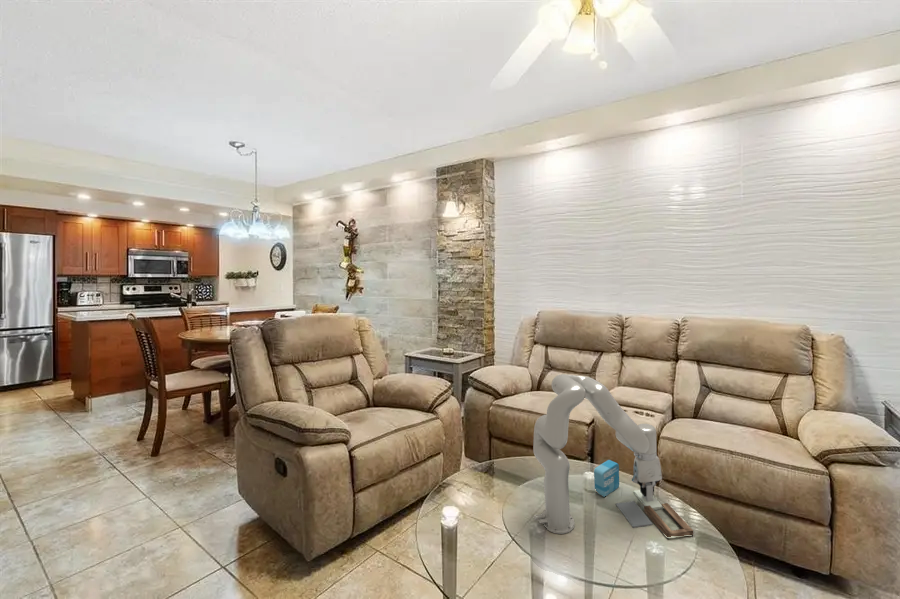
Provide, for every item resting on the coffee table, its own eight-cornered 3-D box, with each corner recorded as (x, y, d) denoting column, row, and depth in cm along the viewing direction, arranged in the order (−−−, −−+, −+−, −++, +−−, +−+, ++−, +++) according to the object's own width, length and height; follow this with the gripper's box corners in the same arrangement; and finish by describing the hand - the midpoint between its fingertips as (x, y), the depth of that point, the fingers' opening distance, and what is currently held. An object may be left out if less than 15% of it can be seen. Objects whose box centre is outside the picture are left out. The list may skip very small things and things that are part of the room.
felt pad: (633, 527, 158) (632, 526, 158) (615, 504, 172) (615, 503, 172) (652, 525, 159) (652, 523, 159) (634, 502, 173) (633, 500, 172)
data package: (603, 498, 177) (602, 473, 175) (594, 493, 181) (593, 468, 179) (619, 486, 183) (618, 462, 182) (610, 482, 187) (609, 458, 185)
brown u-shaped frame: (667, 539, 151) (667, 534, 151) (644, 511, 167) (643, 506, 166) (693, 535, 152) (693, 530, 151) (667, 507, 167) (667, 503, 167)
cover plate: (648, 510, 167) (648, 492, 166) (633, 492, 179) (632, 475, 177) (662, 508, 167) (662, 490, 166) (647, 490, 179) (646, 473, 178)
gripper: (632, 461, 166) (633, 502, 169) (670, 456, 167) (670, 497, 169) (623, 451, 173) (624, 491, 176) (659, 447, 174) (660, 486, 177)
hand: (647, 493), depth 173 cm, fingers closed on cover plate, 2 cm apart
